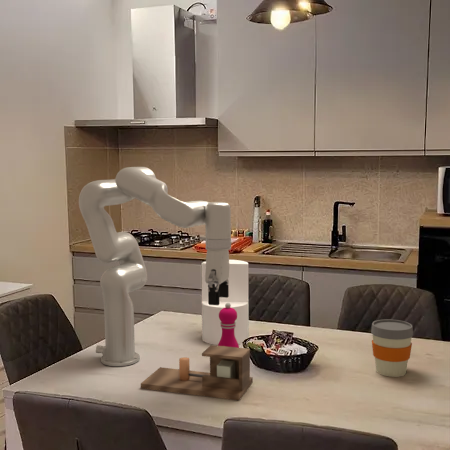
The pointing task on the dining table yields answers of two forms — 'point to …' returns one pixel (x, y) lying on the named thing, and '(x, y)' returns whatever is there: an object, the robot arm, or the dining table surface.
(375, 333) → the reusable coffee cup
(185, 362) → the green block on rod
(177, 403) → the dining table surface
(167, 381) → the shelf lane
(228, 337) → the pepper mill
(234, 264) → the cylinder
